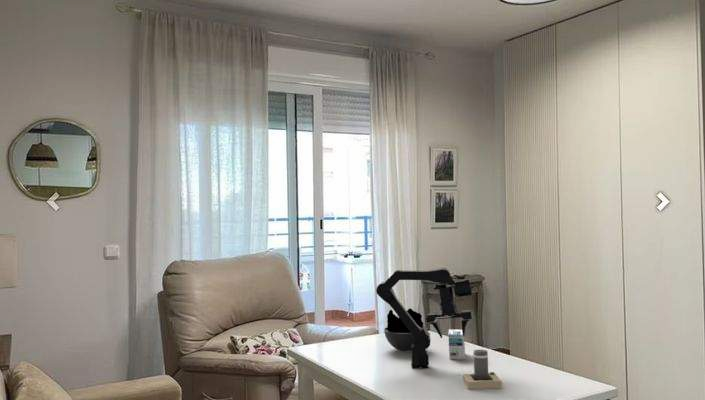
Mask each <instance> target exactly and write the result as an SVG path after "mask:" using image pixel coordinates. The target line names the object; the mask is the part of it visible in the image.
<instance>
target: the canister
mask: <svg viewBox="0 0 705 400" xmlns="http://www.w3.org/2000/svg"><path fill="white" fill-rule="evenodd" d="M488 355H489V354H488V350H487V349H474V350H473V355H472V356H473V370H474V372H473V374H474V376H475V381H477V380H489V377H488V373H489V358H488V357H489V356H488Z"/></svg>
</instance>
